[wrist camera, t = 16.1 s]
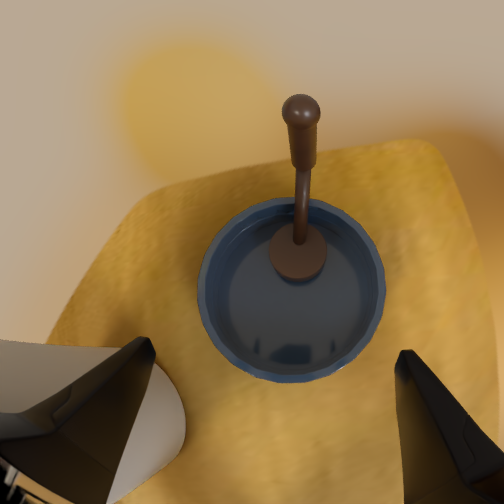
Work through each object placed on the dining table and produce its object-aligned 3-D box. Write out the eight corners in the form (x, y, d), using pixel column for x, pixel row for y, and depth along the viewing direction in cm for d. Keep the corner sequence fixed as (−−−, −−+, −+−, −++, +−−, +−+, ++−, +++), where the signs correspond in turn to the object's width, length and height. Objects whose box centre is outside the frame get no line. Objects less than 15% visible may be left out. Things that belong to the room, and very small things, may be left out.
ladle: (322, 285, 22) (339, 230, 11) (266, 277, 23) (226, 217, 12) (332, 196, 24) (344, 90, 12) (281, 190, 25) (259, 85, 13)
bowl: (353, 389, 20) (362, 399, 16) (197, 351, 23) (177, 353, 20) (382, 233, 23) (394, 214, 20) (236, 206, 26) (225, 185, 23)
